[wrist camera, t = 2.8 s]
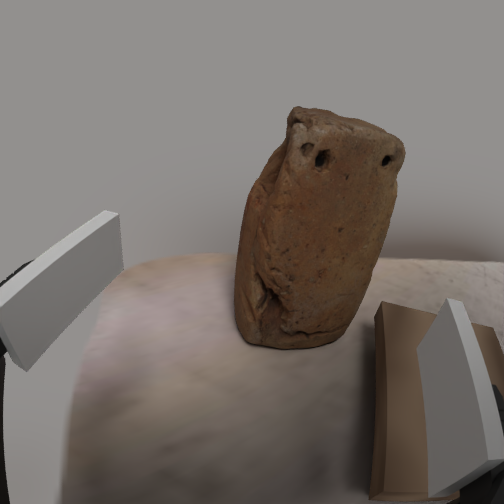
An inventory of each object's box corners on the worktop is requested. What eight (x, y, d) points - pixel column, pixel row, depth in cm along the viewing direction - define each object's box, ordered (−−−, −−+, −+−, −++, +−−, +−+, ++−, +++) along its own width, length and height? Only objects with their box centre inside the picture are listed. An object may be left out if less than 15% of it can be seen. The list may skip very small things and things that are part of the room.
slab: (470, 359, 28) (493, 327, 25) (493, 503, 13) (534, 479, 10) (363, 338, 30) (381, 301, 27) (349, 509, 15) (383, 491, 12)
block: (321, 298, 35) (371, 118, 24) (349, 347, 29) (427, 141, 18) (226, 304, 32) (251, 98, 22) (240, 361, 26) (281, 111, 16)
